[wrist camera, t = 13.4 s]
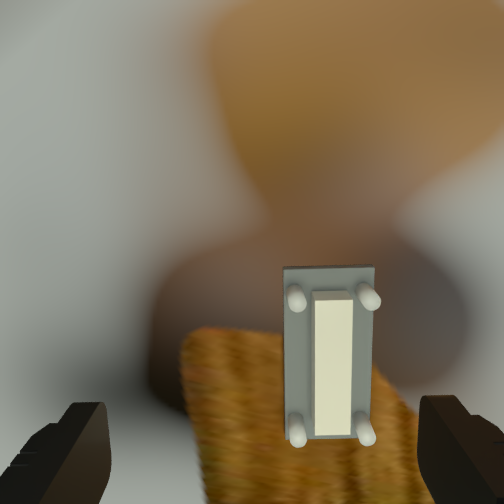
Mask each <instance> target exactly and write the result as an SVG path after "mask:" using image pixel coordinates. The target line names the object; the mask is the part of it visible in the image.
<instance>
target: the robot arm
mask: <svg viewBox="0 0 504 504" xmlns="http://www.w3.org/2000/svg"><path fill="white" fill-rule="evenodd" d="M417 458H418V465H419V469H420V473H421V476H422V478H423V480H424V482H425V484H426V486H427V488H428V490H429V492H430V494H431V496H432V498H433V500H434V502H435V503H436V504H504V433H503V432H502V431H501V430H500V429H499V428H498V427H497V426H495V425H494V424H492V423H491V422H489V421H488V420H486V419H484V418H483V417H481V416H480V415H470V413H469V412H468V411H467V410H466V408H465V407H464V406H463V405H462V404H461V402H460V401H459V400H458V399H457V397H456V396H454V395H428V396H427V395H425V396H422V398H421V400H420V408H419V425H418V442H417ZM110 472H111V448H110V438H109V429H108V420H107V410H106V406H105V404H104V403H103V402H74V403H72V404H71V405H70V406H69V408H68V409H67V410H66V412H65V413H64V415H63V416H62V418H61V419H60V420H59V422H58V423H49V424H48V425H46V426H45V427H44V428H42V429H41V430H39V431H38V432H37V433H35V434H34V435H32V436H31V437H30V439H29V440H28V441H27V443H26V444H25V445H24V446H23V448H22V449H21V450H20V454H17V456H16V457H15V458H14V459H13V461H12V462H11V463H10V467H7V469H6V470H5V471H4V472H3V474H2V475H1V476H0V504H99V502H100V500H101V497H102V495H103V493H104V490H105V488H106V486H107V483H108V480H109V477H110Z"/></svg>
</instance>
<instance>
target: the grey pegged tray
mask: <svg viewBox="0 0 504 504" xmlns="http://www.w3.org/2000/svg"><path fill="white" fill-rule="evenodd" d="M374 270H375V268H374V266H373V265H332V266H291V267H283V316H284V317H283V320H284V321H283V325H284V406H285V439H286V440H289V439H290V442H291V444H292V445H293V446H294V447H302V446H304V445H305V444H306V442H307V439H336V438H359V440H360V443H361V444H362V445H364V446H370V445H372V444H374V443H375V441H376V435H375V433H374V431H373V428H372V426H371V424H370V396H371V364H372V332H373V331H372V330H373V310H376V309H378V308H379V306H380V304H381V299H380V297H379V296H378V295H377V293H376V292H375V291H374ZM343 290H347V291H348V293H349V294H350V296H351V297H352V299H353V327H352V377H351V428H350V435H317V436H315V433H314V429H313V424H312V419H311V291H343Z"/></svg>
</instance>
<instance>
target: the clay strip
mask: <svg viewBox="0 0 504 504" xmlns="http://www.w3.org/2000/svg"><path fill="white" fill-rule="evenodd" d="M352 327H353V299H352V297H351V296H350V294H349V293H348V291H347V290H343V291H311V419H312V424H313V429H314V433H315V436H317V435H350V428H351V377H352Z"/></svg>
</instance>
